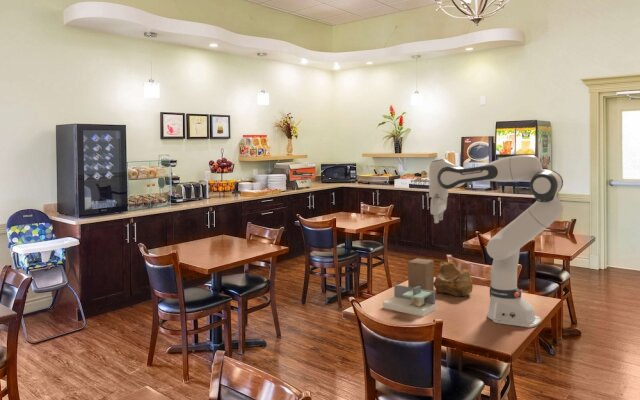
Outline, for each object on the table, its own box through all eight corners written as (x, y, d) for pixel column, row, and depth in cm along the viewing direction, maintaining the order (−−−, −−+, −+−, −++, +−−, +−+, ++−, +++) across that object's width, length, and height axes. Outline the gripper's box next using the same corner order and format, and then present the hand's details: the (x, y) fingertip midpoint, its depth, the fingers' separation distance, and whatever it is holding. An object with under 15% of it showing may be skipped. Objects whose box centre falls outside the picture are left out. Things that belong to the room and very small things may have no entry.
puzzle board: (435, 309, 237) (435, 291, 236) (423, 316, 228) (423, 297, 227) (395, 301, 252) (395, 284, 251) (383, 307, 242) (382, 290, 241)
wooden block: (425, 302, 249) (425, 264, 246) (408, 299, 255) (407, 261, 253) (434, 297, 256) (434, 260, 254) (416, 294, 262) (416, 257, 260)
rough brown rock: (424, 290, 273) (422, 264, 271) (449, 283, 279) (447, 258, 276) (449, 303, 251) (447, 275, 249) (476, 296, 257) (474, 268, 255)
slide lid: (431, 294, 236) (431, 286, 236) (421, 299, 228) (421, 291, 228) (413, 290, 242) (413, 283, 242) (402, 295, 235) (402, 288, 234)
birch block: (424, 310, 237) (424, 296, 236) (419, 313, 234) (419, 298, 233) (416, 308, 240) (415, 294, 239) (411, 311, 236) (411, 297, 236)
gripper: (440, 195, 226) (440, 225, 227) (449, 191, 244) (449, 218, 245) (426, 195, 228) (427, 224, 230) (436, 191, 247) (436, 218, 248)
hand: (438, 221), depth 238 cm, fingers open, 8 cm apart
